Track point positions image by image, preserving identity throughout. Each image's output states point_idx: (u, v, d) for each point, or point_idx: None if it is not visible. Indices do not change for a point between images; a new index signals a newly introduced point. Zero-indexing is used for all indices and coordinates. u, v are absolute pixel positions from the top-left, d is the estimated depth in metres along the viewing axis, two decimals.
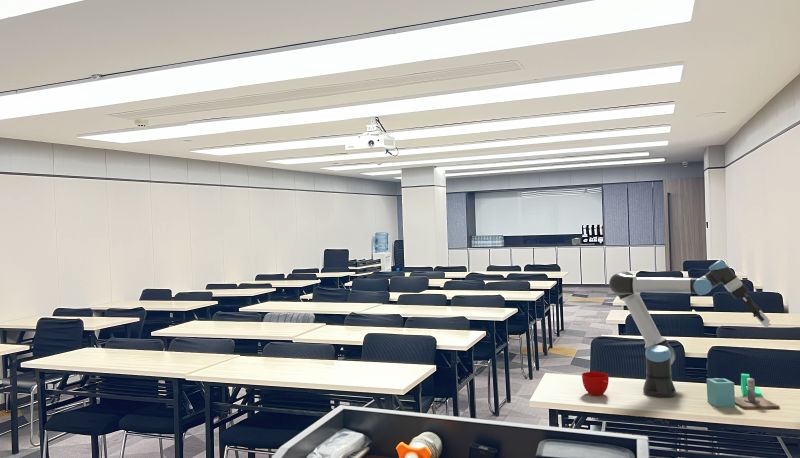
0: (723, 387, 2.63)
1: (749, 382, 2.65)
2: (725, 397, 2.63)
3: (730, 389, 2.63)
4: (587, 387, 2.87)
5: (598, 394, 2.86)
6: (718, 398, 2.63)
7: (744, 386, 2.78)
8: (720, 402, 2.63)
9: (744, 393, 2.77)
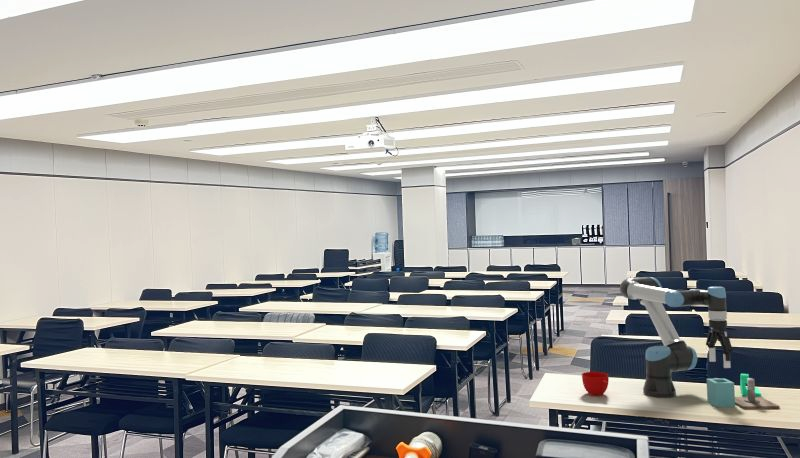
0: (723, 387, 2.63)
1: (749, 382, 2.65)
2: (725, 397, 2.63)
3: (730, 389, 2.63)
4: (587, 387, 2.87)
5: (598, 394, 2.86)
6: (718, 398, 2.63)
7: (743, 386, 2.78)
8: (720, 402, 2.63)
9: (743, 393, 2.77)
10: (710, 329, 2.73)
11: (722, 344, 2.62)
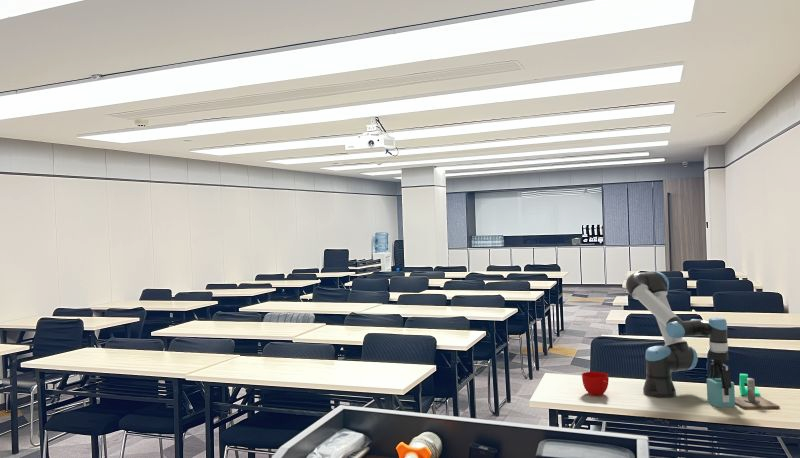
0: None
1: (749, 382, 2.65)
2: None
3: (730, 389, 2.63)
4: (587, 387, 2.87)
5: (598, 394, 2.86)
6: (718, 398, 2.63)
7: (742, 386, 2.78)
8: (720, 402, 2.63)
9: (742, 393, 2.77)
10: (711, 361, 2.73)
11: (722, 378, 2.63)
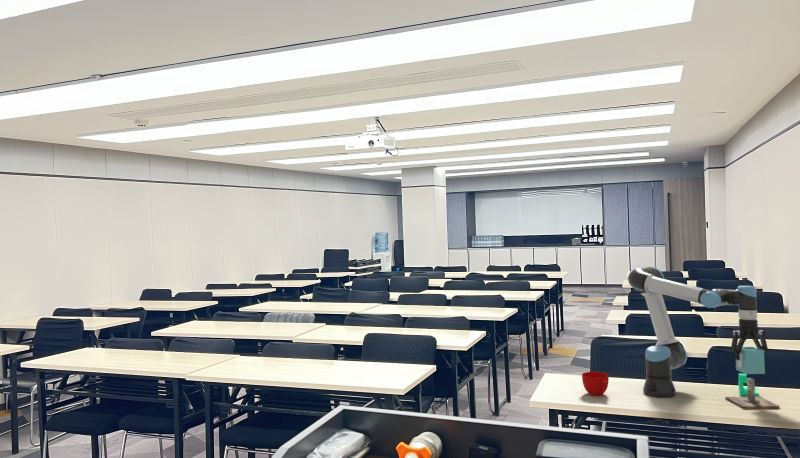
0: None
1: (749, 382, 2.65)
2: None
3: (743, 356, 2.64)
4: (587, 387, 2.87)
5: (598, 394, 2.86)
6: None
7: (741, 386, 2.79)
8: None
9: (741, 393, 2.77)
10: None
11: (738, 343, 2.68)
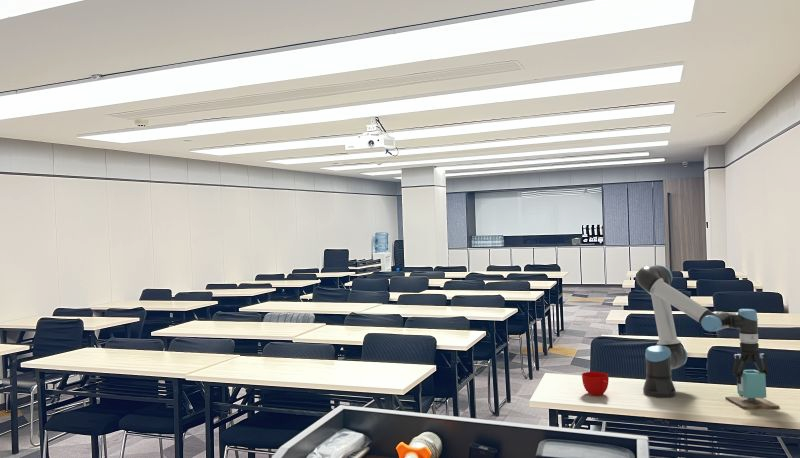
0: None
1: None
2: None
3: (744, 379, 2.64)
4: (587, 387, 2.87)
5: (598, 394, 2.86)
6: (738, 385, 2.69)
7: None
8: None
9: None
10: None
11: (739, 366, 2.68)
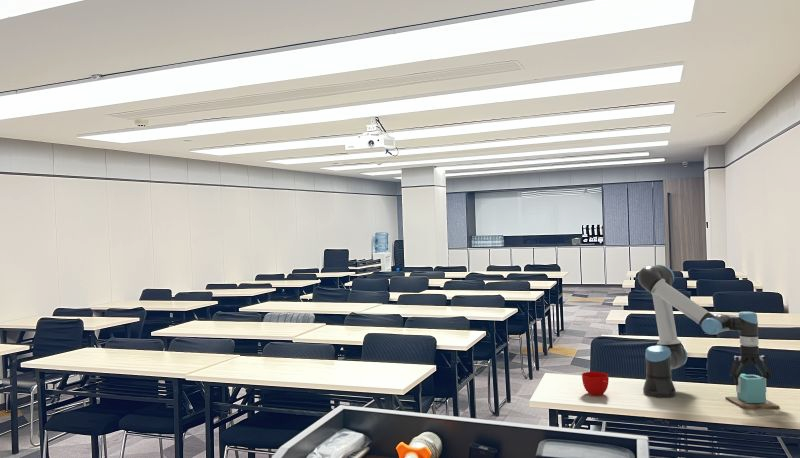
0: (740, 381, 2.67)
1: None
2: (741, 391, 2.66)
3: (744, 384, 2.64)
4: (587, 387, 2.87)
5: (598, 394, 2.86)
6: None
7: None
8: (739, 394, 2.69)
9: None
10: None
11: None
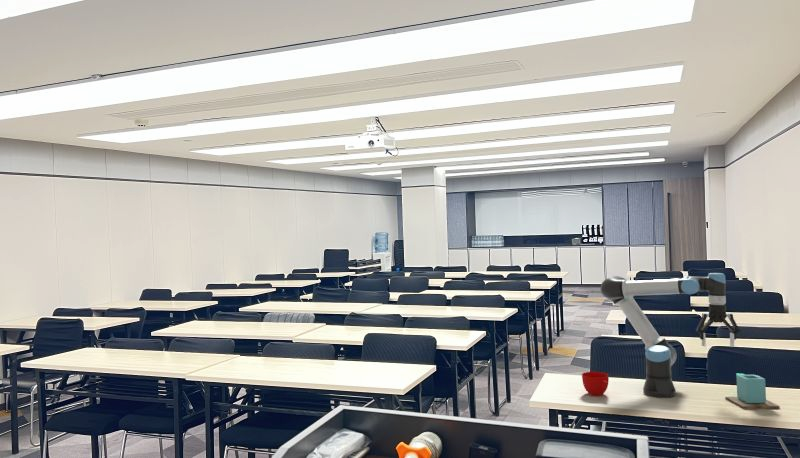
0: (740, 381, 2.67)
1: None
2: (741, 391, 2.66)
3: (744, 384, 2.64)
4: (587, 387, 2.87)
5: (598, 394, 2.86)
6: (738, 390, 2.70)
7: None
8: (739, 394, 2.69)
9: None
10: None
11: None
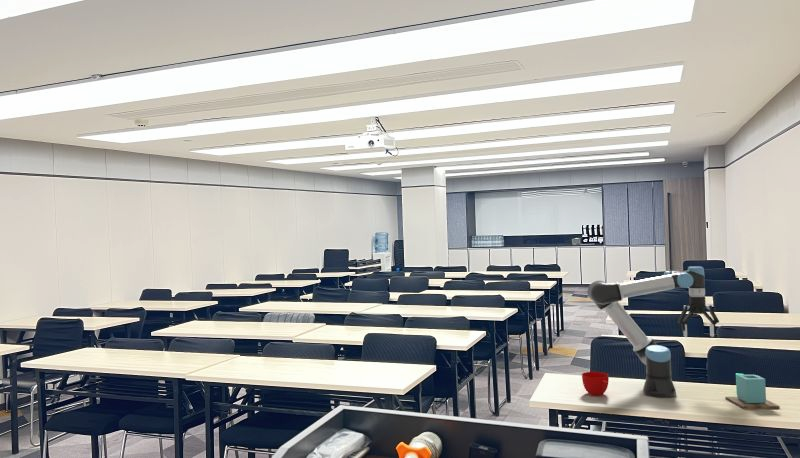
0: (740, 381, 2.67)
1: None
2: (741, 391, 2.66)
3: (744, 384, 2.64)
4: (587, 387, 2.87)
5: (598, 394, 2.86)
6: (738, 390, 2.70)
7: None
8: (739, 394, 2.69)
9: None
10: None
11: None
